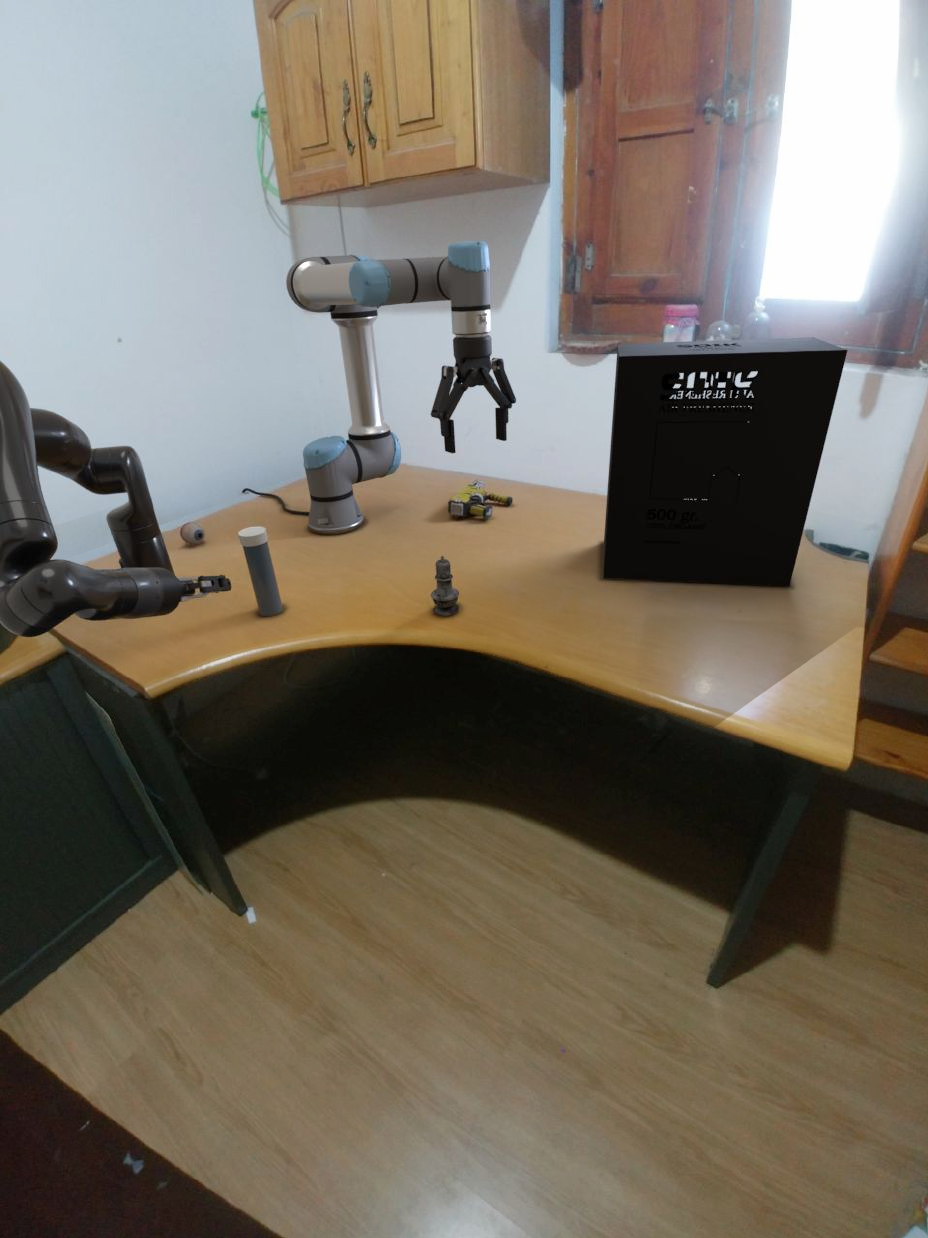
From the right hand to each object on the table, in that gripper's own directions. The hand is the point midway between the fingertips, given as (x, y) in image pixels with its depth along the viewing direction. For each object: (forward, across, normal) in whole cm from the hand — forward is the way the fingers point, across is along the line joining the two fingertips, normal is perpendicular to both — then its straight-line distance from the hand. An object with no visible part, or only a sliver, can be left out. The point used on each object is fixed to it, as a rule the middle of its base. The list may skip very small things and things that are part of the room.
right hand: (476, 445), depth 127 cm
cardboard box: (+28, +36, -31) cm, 55 cm away
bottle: (+28, -46, +13) cm, 56 cm away
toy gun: (+28, +26, +31) cm, 49 cm away
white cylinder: (+10, -46, +13) cm, 49 cm away
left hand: (+14, -60, +1) cm, 61 cm away
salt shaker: (+28, -18, -12) cm, 35 cm away
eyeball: (+28, -48, +63) cm, 84 cm away
